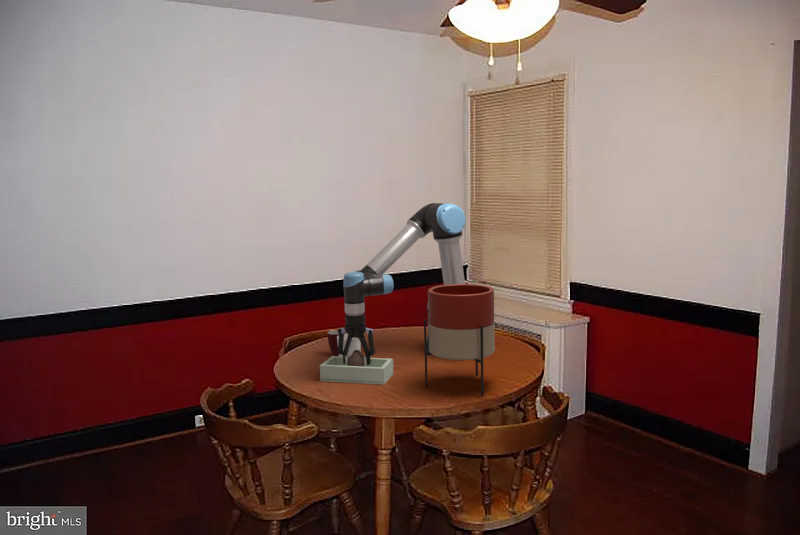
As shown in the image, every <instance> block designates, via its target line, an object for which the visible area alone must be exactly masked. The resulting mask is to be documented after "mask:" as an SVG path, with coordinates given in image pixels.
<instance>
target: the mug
mask: <svg viewBox="0 0 800 535" xmlns="http://www.w3.org/2000/svg"><path fill="white" fill-rule="evenodd" d="M344 334H347V332H346V331H345V333H344ZM337 336H339V334H338V329H334V330H330V331H328V332H327V341H328V346H329V350H330V352H331V353H332V356H339V354H338V342H337Z"/></svg>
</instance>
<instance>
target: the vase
mask: <svg viewBox="0 0 800 535" xmlns="http://www.w3.org/2000/svg"><path fill="white" fill-rule="evenodd" d="M361 352H362V351H361ZM361 352H360V351H359V350H354V351H353V353H352V355H351V356H350V358H349V360H348V366H363V367H364V357H365V355H364V354H362V353H361Z"/></svg>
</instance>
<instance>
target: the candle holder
mask: <svg viewBox="0 0 800 535" xmlns="http://www.w3.org/2000/svg"><path fill="white" fill-rule="evenodd" d="M347 337H348V334H347V333H346V334H344V343H343V351H344V348H345V344H346V341H347ZM337 342H339V336H337ZM361 348H362V345H361V342H360V340H359V338H352V341H351V344H350V347H349V350H348V354H347V355H349V356H351V355H352V353H353V351H354V350H359V351H360V352H362V351H361V350H362V349H361ZM339 356H342V357H343V355H341V354H339Z"/></svg>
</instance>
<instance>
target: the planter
mask: <svg viewBox="0 0 800 535" xmlns="http://www.w3.org/2000/svg"><path fill="white" fill-rule="evenodd" d="M427 299H428V300H427V306H428V309H427V312H428V311H429V351H430V353H427V340H426V339H427V319H423V338H424V339H423V342H424V344H423V346H424V349H423V350H424V386H425V387H428V356H435V357H437V358H440V359H444V360H452V361H475V376H476V377H477V376H478V375H479V363H480V396H481V397H484V395H485V394H484V392H485V391H484V389H485V388H484V384H485V383H484V379H485V378H484V358H487V357H490V356H491V355H492V354H494V352H495V351H496V349H495V348H496V345H495V289H494V288H493V287H492V286H490V285H489V286H488V285H483V284H477V283H476V284H475V283H465V284H449V285H444V284H441V285H436V286H432V287H430V288H428V290H427Z"/></svg>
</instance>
